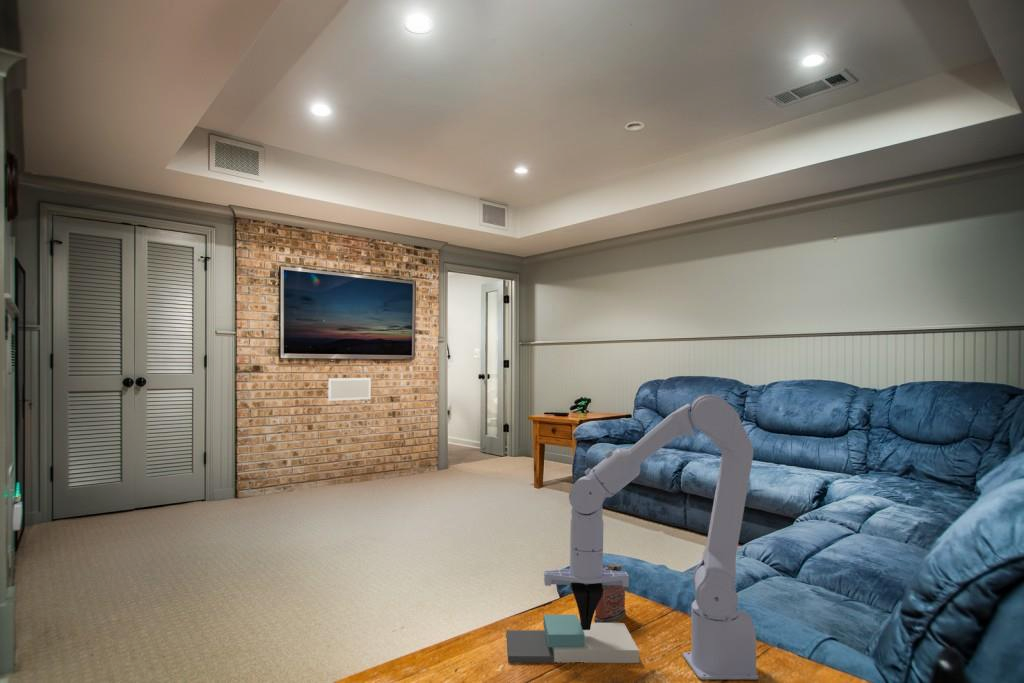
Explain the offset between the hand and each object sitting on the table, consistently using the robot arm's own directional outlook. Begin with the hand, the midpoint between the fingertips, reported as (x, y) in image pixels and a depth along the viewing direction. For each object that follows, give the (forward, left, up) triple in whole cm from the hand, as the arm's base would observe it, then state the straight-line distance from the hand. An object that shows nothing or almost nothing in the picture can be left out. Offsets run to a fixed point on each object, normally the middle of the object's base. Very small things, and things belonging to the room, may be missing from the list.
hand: (585, 627), depth 97 cm
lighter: (-7, -12, -4) cm, 15 cm away
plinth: (-1, 0, -3) cm, 4 cm away
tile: (+4, 0, -1) cm, 4 cm away
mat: (+10, 0, -3) cm, 10 cm away
